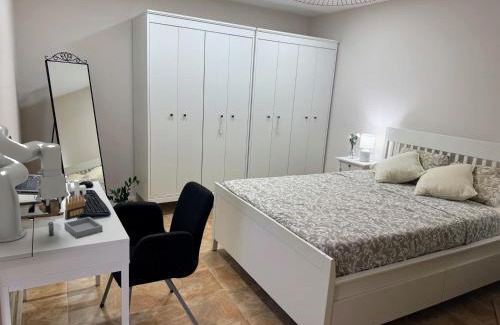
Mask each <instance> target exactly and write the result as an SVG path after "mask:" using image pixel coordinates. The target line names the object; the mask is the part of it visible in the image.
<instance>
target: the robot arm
mask: <svg viewBox="0 0 500 325" xmlns="http://www.w3.org/2000/svg"><path fill="white" fill-rule="evenodd" d="M8 135H9V129H8V128H7V127H6V126H5V125H2V124H0V243H8V242H14V241H17V240H19V239H21V238H24V237H25V236H26V235H27V232H26V229H25V228H23V227H22V218H21V206H20V198H19V193H18V192H17V190H16V186H18V185H21V184H23V183H25V182H26V181H27V180H28V179H29V175H30V174H29V170H28V168H27V167H26V166H25V165H24V164H23V163H29V162H32V161H34V160H38V159H40V169H39V170H38V171H37V174H38V175H39V178H38V179H39V180H38V194H37V196H36V197H35V201H36V202H40V203H44V204H45V211H46V212H47V213H46V214H48V215H50V213H51V208H50V205H49V200H50V199H56V200H58V201H59V213H61V210H62V202H63V201H64V200H66V197H67V198H68V197H70V193H69V191H68V188H67V182H66V178H65V174H64V173H63V172H62V151H61V145H60V144H58V143H54V142H44V141H39V140H34V141H33V140H32V141H29V142H26V143H22V144H21V143H19V142H17V141H15V140H12V139H11V138H9V137H8Z"/></svg>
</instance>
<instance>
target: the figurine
mask: <svg viewBox="0 0 500 325" xmlns="http://www.w3.org/2000/svg"><path fill="white" fill-rule="evenodd" d="M66 189H67V192H68V193H72V192H73V193H74V198H76V195H77V196H78V201H79V194H80V195H81V193H80V191H81V192H82V194H84V195H86V194H87V186H86V185H85V184H82V185H81V184H80V180H79V179H73V186H72V184H71V182H69V181H68V182H66ZM71 200H72V197H71ZM81 200H82V196H81ZM86 202H87V199H85V203H86Z"/></svg>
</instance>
